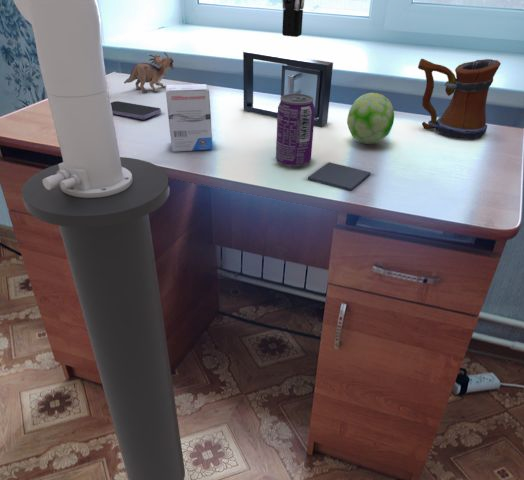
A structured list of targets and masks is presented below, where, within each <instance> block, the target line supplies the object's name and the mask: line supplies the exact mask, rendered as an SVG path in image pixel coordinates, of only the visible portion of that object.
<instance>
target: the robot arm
mask: <svg viewBox="0 0 524 480" xmlns="http://www.w3.org/2000/svg"><path fill="white" fill-rule="evenodd" d="M12 1H13V3H14V5H15V7H16V8H17V10H18V11H19V13H20V15H21V16H22V17H23V18H24V19H25V20H26V21H27V22H28V23H29V24H30V26H31V27H32V31H33V36H34V42H35V47H36V53H37V60H38V64H39V68H40V73H41V74H40V75H41V77H42V82H43V86H44V90H45V94H46V97H47V101H48V106H49V109H50V114H51V118H52V121H53V127H54V130H55V134H56V138H57V142H58V146H59V151H60V155H61V158H62V162H60V163H57V164H58V165H59V169H60V170H59V171H57V173H56V174H55V175H51V176H49V177H47V178H44V179H43V181H42V182H43V185H44V187H45V188H46V189H47V190H51V189H53V188H56V187H58V186H59V185H60V188H61V190H62V191H63V192H64V193H66V194H68V195H71V196H74V197H80V198H99V197H106V196H111V195H114V194H117V193H120V192H122V191H124V190H126V189H127V188H128V187H129V186H130V185H131V184H132V182H133V179H132V174H131V172H130V171H129V170H127V169H126V168H124V167H122V166H121V160H120V157H121V155H120V148H119V144H118V137H117V132H116V131H117V130H116V125H115V119H114V114H113V113H112V107H111V97H110V90H109V85H108V78H107V73H106V72H107V71H106V66H105V60H104V59H105V58H104V51H103V35H102V20H101V12H100V7H99V4H98V0H12ZM304 8H305V0H282V29H281V30H282V33H281V34H282V36H284V37H292V38H298V37H300V36H301V35H302V33H303V32H302V31H303V17H304V16H303V15H304Z"/></svg>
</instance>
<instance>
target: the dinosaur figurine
mask: <svg viewBox="0 0 524 480" xmlns="http://www.w3.org/2000/svg"><path fill="white" fill-rule="evenodd" d="M163 54H164V55H165V57H166V58H163V57H162V56H161V55H158V54H148V56H149V57H151V58H149V59H148V62H140V63H137V64H135V65H134V66H133V68H132V69H131V72H130V75H129V77H128V78H126V80H125V81H124V82H123V84H125V85H126V84H127V83H128V84H129V83H132V82H134V81H136V82H135V88H136V89H138V90H141V92H142V93H143V94H147V93H148V92H149V91H148V90H147V89H146V88H145V84H146V83H148V85H149V86H150V88H151V89H152V92H153V93H158V90H157V89H156V88H155V86H158V87H162V88H163V89H166V85H164V83H162V82H161V81H162V80H163V79H164V78H165V77H166V76H167V74H168V71H169V70H174V68H175V67H174V64H173V63H175V61H174V59H173V58H172V57H171V56H170V55H169V54H168V53H167V52H163ZM149 61H151V62H149ZM155 65H156V66H155ZM139 84H140V85H139Z"/></svg>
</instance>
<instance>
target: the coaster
mask: <svg viewBox="0 0 524 480" xmlns="http://www.w3.org/2000/svg"><path fill="white" fill-rule="evenodd" d="M371 174H372V173H371V171H367V170H362V169H358V168H355V167H350V166H346V165H342V164H338V163H334V162H327V163H326V164H324V165H323V166H322V167H320V168H319V169H318V170H316V171H315V172H313V173H312V174H310V175H309V176H308V177H307V181H312V182H316V183H319V184H324V185H327V186H331V187H334V188H339V189H342V190H346V191H349V192H350V191H351V192H352V191H353V190H354V189H355V188H356V187H358V186H359V185H360V184H361V183H362V182H364V181H365V180H366V179H367V178H368V177H369V176H371Z"/></svg>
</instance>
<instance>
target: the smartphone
mask: <svg viewBox="0 0 524 480" xmlns="http://www.w3.org/2000/svg"><path fill="white" fill-rule="evenodd" d="M111 107H112V113H113V115H119V116H123V117H129V118H134V119H137V120H138V119H139V120H142V121H143V120H147V119H148V118H151V117H153V116H155V115H158V114H161V113H162V109H161V108H160V107H155V106H149V105H144V104H138V103H131V102H125V101H119V100H118V101H117V100H116V101H112V102H111Z"/></svg>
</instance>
